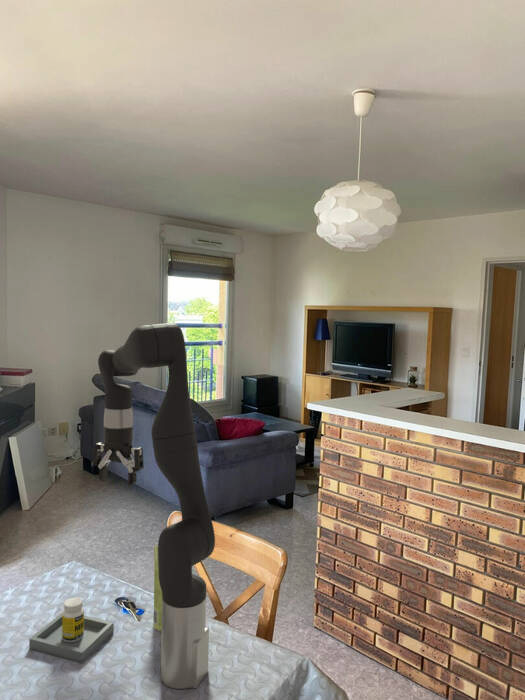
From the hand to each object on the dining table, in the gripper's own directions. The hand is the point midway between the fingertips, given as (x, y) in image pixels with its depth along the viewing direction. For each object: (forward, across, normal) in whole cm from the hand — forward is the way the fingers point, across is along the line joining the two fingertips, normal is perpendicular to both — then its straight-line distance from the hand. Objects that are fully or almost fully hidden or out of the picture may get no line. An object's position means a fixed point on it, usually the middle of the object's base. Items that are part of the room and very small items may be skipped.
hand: (117, 483), depth 143 cm
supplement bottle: (+30, +3, -22) cm, 37 cm away
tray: (+30, +3, -22) cm, 38 cm away
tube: (+30, +20, -10) cm, 38 cm away
